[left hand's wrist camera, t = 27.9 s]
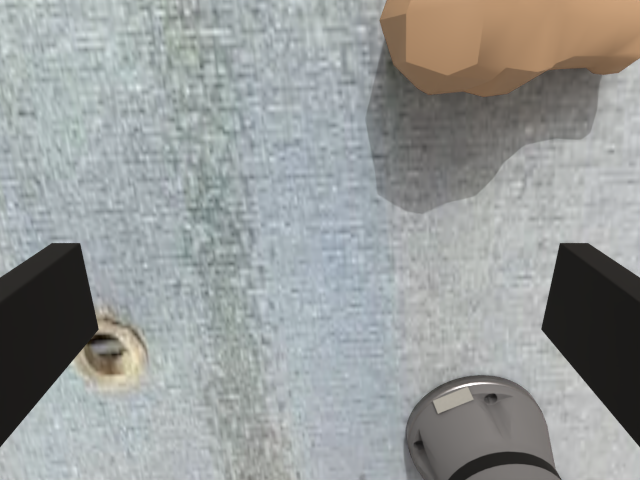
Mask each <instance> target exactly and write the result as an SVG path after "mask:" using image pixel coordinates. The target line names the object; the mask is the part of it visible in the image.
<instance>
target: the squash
mask: <svg viewBox="0 0 640 480" xmlns="http://www.w3.org/2000/svg"><path fill="white" fill-rule="evenodd" d="M380 23H381V27H382V31H383V34H384V37H385V39H386V42H387V45H388V49H389V52H390V55H391V58H392V62H393V65H394V66H395V67H396V68H397V69H398V70H399V71H400V72H401V73H402V74H403V75H404V76H405V77H406V78H407V79H408V80H409V81H410V82H411V83H412V84H413V85H414V86H415V87H416V88H418V89H419V90H421V91H423V92H424V93H426V94H428V95H433V94H443V93H453V92H462V91H463V92H467V93H471V94H474V95H478V96H482V97H487V96H495V95H502V94H508V93H510V92H511V91H513V90H515V89H516V88H518V87H520V86H522V85H523V84H525V83H527V82H528V81H530V80H532V79H534V78H535V77H537V76H539V75H540V74H542V73H544V72H546V71H547V70H555V69H570V68H587V69H588V70H589V71H591V72H592V73H594V74H602V75H605V74H613V73H619V72H620V71H622V70H623V69H625V68H626V67H627V66H629V65H630V64H632V63H633V62H635V61H636V60H638V59H639V58H640V0H387V1H386V4H385V7H384V10H383V12H382V15H381V18H380Z"/></svg>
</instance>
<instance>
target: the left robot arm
mask: <svg viewBox="0 0 640 480" xmlns="http://www.w3.org/2000/svg"><path fill="white" fill-rule="evenodd" d="M98 330H99V329H98V324H97V319H96V315H95V310H94V305H93V301H92V296H91V292H90V287H89V282H88V278H87V273H86V268H85V264H84V259H83V255H82V250H81V245H80V243H52V244H50V245H49V246H47V247H46V248H44V249H43V250H41V251H40V252H38V253H37V254H35V255H34V256H32V257H31V258H29V259H28V260H26V261H25V262H23V263H22V264H20V265H19V266H17V267H16V268H14V269H12V270H11V271H9V272H8V273H6V274H5V275H3V276H2V277H0V447H1V446H2V444H3V443H4V442H5V441H6V440H7V438H8V437H9V436H10V435H11V434H12V432H13V431H14V430H15V429H16V428H17V426H18V425H19V424H20V423H21V422H22V420H23V419H24V418H25V417H26V416H27V414H28V413H29V412H30V411H31V410H32V408H33V407H34V406H35V405H36V404H37V402H38V401H39V400H40V399H41V398H42V397H43V395H44V394H45V393H46V392H47V391H48V389H49V388H50V387H51V386H52V385H53V383H54V382H55V381H56V380H57V379H58V377H59V376H60V375H61V374H62V373H63V371H64V370H65V369H66V368H67V367H68V365H69V364H70V363H71V362H72V361H73V359H74V358H75V357H76V356H77V355H78V353H79V352H80V351H81V350H82V349H83V348H84V346H85V345H86V344H87V343H88V342H89V340H90V339H91V338H92V337H93V336H94V334H95V333H96V332H97V331H98ZM541 330H542V331H543V332H544V333H545V334H546V336H547V337H548V338H549V339H550V340H551V342H552V343H553V344H554V345H555V346H556V348H557V349H558V350H559V351H560V352H561V353H562V355H563V356H564V357H565V358H566V359H567V361H568V362H569V363H570V364H571V365H572V367H573V368H574V369H575V370H576V371H577V373H578V374H579V375H580V376H581V377H582V379H583V380H584V381H585V382H586V383H587V385H588V386H589V387H590V388H591V389H592V391H593V392H594V393H595V394H596V395H597V397H598V398H599V399H600V400H601V401H602V402H603V404H604V405H605V406H606V407H607V408H608V410H609V411H610V412H611V413H612V414H613V416H614V417H615V418H616V419H617V420H618V422H619V423H620V424H621V425H622V426H623V428H624V429H625V430H626V431H627V432H628V434H629V435H630V436H631V437H632V438H633V440H634V441H635V442H636V443H637V444H638V446H639V447H640V277H638V276H637V275H635V274H634V273H632V272H631V271H629V270H627V269H626V268H624V267H623V266H621V265H620V264H618V263H617V262H615V261H614V260H612V259H611V258H609V257H608V256H606V255H605V254H603V253H602V252H600V251H599V250H597V249H596V248H594V247H593V246H591V245H590V244H588V243H560V245H559V250H558V255H557V259H556V264H555V268H554V273H553V278H552V282H551V287H550V292H549V296H548V301H547V305H546V310H545V315H544V319H543V324H542V329H541ZM406 437H407V443H408V447H409V452H410V455H411V457H412V459H413V462H414V464H415V466H416V468H417V469H418V471H419V472H420V474H421V475H422V477H423V478H424V480H561V478H560V476H559V475H558V473H557V471H556V469H555V464H554V459H553V454H552V449H551V443H550V438H549V433H548V428H547V424H546V421H545V418H544V416H543V413H542V411H541V409H540V408H539V406H538V405H537V403H536V402H535V400H534V399H533V397H532V396H531V395H530V393H529V392H527V391H526V390H525V389H524V388H523V387H521V386H520V385H518V384H516V383H514V382H512V381H510V380H507V379H504V378H500V377H495V376H486V375H477V376H468V377H463V378H459V379H455V380H452V381H449V382H447V383H445V384H443V385H441V386H439V387H437V388H435V389H434V390H432V391H431V392H430V393H428V394H427V395H426V396H425V397H424V398H422V399H421V401H420V402H419V403H418V404H417V405H416V407H415V408H414V410H413V411H412V413H411V415H410V417H409V420H408V424H407V430H406Z"/></svg>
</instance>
